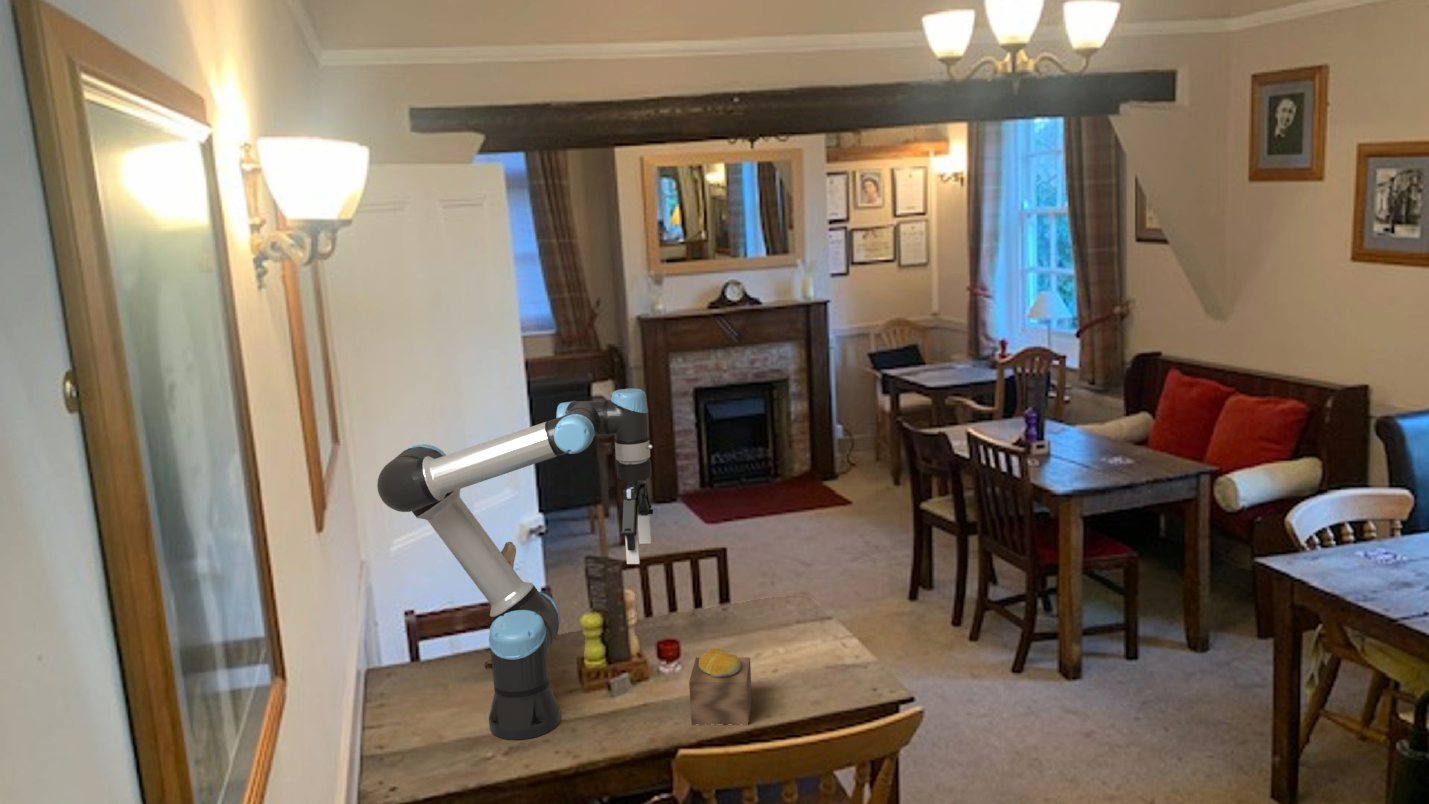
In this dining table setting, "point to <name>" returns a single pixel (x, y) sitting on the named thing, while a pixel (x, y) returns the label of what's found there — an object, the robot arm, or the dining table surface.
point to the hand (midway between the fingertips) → (639, 553)
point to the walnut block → (721, 696)
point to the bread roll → (719, 663)
